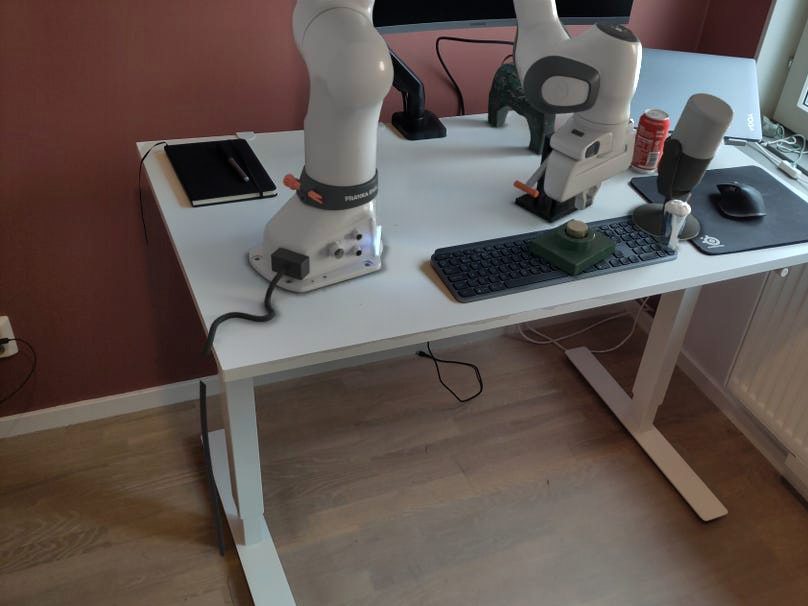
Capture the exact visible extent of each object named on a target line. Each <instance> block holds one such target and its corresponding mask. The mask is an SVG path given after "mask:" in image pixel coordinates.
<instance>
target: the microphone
mask: <svg viewBox="0 0 808 606" xmlns="http://www.w3.org/2000/svg"><path fill="white" fill-rule="evenodd" d="M734 119H735V111H734V109H733V108H732V107H731V106H730V104H729V103H728V102H726V100H723V99H722V98H720V97H719V96H715V95H713V94H709V93H704V92H699V93H694V94H692V95H690V97H688V99H687V101H686V104H685V106H684V108H683V110H682V111H681V114H680V116H679V118H678V120H677V122H676V124H675V127H674V129H673V130H672V133H671V134H670V135H669V136H667V138H666V140H665V141H664V147H663V153H662V156H661V158H660V160H659V162H658V166H657V169H656V173H657V178H656V181H655V182H656V188H657V193H658V194H659V195H660V196H663V197H664V202H663V203H658V202H657V203H656V202H653V203H652V202H651V203H645V204H641V205H639V206H637V207H635V208H634V209H633V211H632V214H631V220H632V222H633V224H634V225H635V226H636V228H638V229H639V230H640V231H642V232H643V233H645V234H647V235H649V236H651V237H654V238H657V239H659V236H660V231H661V226H662V221H663V215H664V209H665V204H666V203H667V202H669V201H671V200H680V201H681V199H682V198H685V197H688V195H689V193H690V194H691V193H692V191H693V189H694V188H696V187H697V186H698V185H699V184H700V183H701V181H702V179H703V177H704V176H705V174H706V172H707V170H708V168H709V166H710V165H711V162H712V161H713V160H714V158H715V156H716V153H717V152H718V149H719V148H720V146H721V144H722V142H723V140H724V139H725V136H726V134H727V132H728V131H729V129H730V127H731V125H732V123H733V121H734ZM700 229H701V225H700V222H699V220H698V219H697V218H696V217H695V216H694V215H693V214H692V213H690V214H689V216H688V219H687V221H686V223H685V226H684V228H683V231H682V233H681V236H680V238H679V241H678V242H684V241H689V240H691V239H694V238H695V237H697V236H698V234H699V233H700Z"/></svg>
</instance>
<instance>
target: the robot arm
mask: <svg viewBox="0 0 808 606" xmlns="http://www.w3.org/2000/svg"><path fill="white" fill-rule="evenodd" d="M375 1H376V0H296V5H295V7H294V9H293V13H292V34H293V35H292V37H293V41H294V44H295V46H296V49H297V50H298V52H299V54H300V56H301V57H302V59H303V61H304V63H305V65H306V68H307V72H308V77H309V84H310V85H309V88H310V90H309V100H308V107H307V112H306V115H305V117H304V118H303V119H304V120H303V143H304V144H303V146H304V147H303V149H304V150H303V151H304V165H303V167H302V169H301V173H300V175H299V177H295V176H294V175H293V174H291V173H287V174H285V175H284V177H283V179H282V183H283V185H284V186H285V187H287V188H289V189H290V190H291V191H295V193H294V194H293V195H292V196H291V197H290V198H289V199H288V200H287V201H286V202H285V203H284V205H283V206H281V208H280V209H279V210H277V212H276V213H275V214H274V215H273V216H272V217H271V218H270V220H268V221H267V223H266V224H265V227H264V230H263V236H262V242H261V243H259V244H257V245H256V246H254V247H253V248H251V249H249V251H248V260H249V263H250V265H251V266H252V268H253V269H254V270H255V272H257V273H258V274H259V275H260V276H262V277H263V278H264V279H266V280H267V281H268V282H270V283H269V285H268V287H267V289H266V292H265V295H264V302H263V303H264V308H265V309H266V311H267V314H266V315H255V314H250V313H246V312H241V311H230V312H226V313H223V314H222V315H220V316H218V317H216V318H215V319H214V320H213V321H212V323H211V325H210V327H209V330H208V334H207V338H206V342H205V345H204V348H203V351H202V355H203V356H206V357H207V356H208V355H210V353H211V351H212V348H213V345H214V341H215V337H216V332H217V329H218V327H219V326H220V324H222V323H224V322H225V321H228V320H230V319H242V320H246V321H250V322H255V323H267V322H269V321H271V320H273V319H274V318H275V316H276V310H275V309H274V308H273V306H272V303H271V299H272V295H273V292H274V291H275V288H276V286H277V287H279V288H281V289H284V290H287V291H290V292H295V293H300V294H301V293H306V292H309V291H314V290H316V289H321V288H323V287H326V286H331V285H333V284H336V283H340V282H343V281H347V280H350V279H353V278H357V277H360V276H361V277H362V276H363V275H367V274H371V273H373V272H377V271H379V270H380V269H382V261H381V256H382V253H383V251H384V243H383V240H382V237H381V231H382V225H379V222H378V221H379V220H378V213H377V212H378V211H377V200H376V199H377V195H378V193H379V170H378V168H377V144H378V143H377V142H378V126H379V121H380V117H381V116H380V115H381V111H382V108H383V103H384V99H385V97H386V96H387V95H388V94H389V92H390V91H391V88H392V85H393V82H394V75H395V73H394V65H393V60H392V57H391V53H390V50H389V46H388V45H387V43H386V41H385V40H384V37H382V35H381V34H380V33H379V31H378V30H377V29H376V27H375V26H374V23H373V22H374V20H373V10H374V5H375ZM512 2H513V7H514V12H515V13H514V14H515V18H516V31H515V36H514V41H513V45H512V53H511V54H512V62H513V63H514V66H515V69H516V71H517V73H518V75H519V78H520V82H521V85H522V89H523V92H524V95H525V98H526V100H527V101H528V103H529V104H530V105H531V106H532V107H533V108H534V109H536V110H537V111H539V112H542V113H545V114H556V115H564V114H572V115H570V117H568V119H567V121H565V123H564V124H563V125H562V126H561V127H560V128H558V129H557V130H556V131H554V132H555V133H554V134H553V135H552V137H551V140H550V146H551V147H552V148H554V150H553V151H552V152H551V154H550V156H549V159H548V163H547V168H546V174H545V181H544V191H545V193H546V195H547V196H549V197H551V198H553V199H555V200H557V201H559V202H564V201H565V200H567V199H569V198H571V197H573V196H575V198H576V200H575V207H576V208H577V209H579V210H580V211H583V210H585V209H587V208H588V207H591V206H593V204H594V200H595V197H596V195H597V194H598V192H599V190H600V188H601V187H602V186H601V185H602V183H603V182H605V181H607V180H609V179H611V178H613V177H615V176H617V175H619V174H621V173H623V172H625V171H627V170H628V169H629V168H630V166H631V162H632V158H633V152H634V145H635V136H636V132H634V128H635V121H634V120H633V118H632V117H631V104H632V103H631V102H632V99H633V97H634V96H635V94H636V91H637V87H638V82H639V76H640V70H641V64H642V57H643V56H642V55H643V54H642V53H643V47H642V43H641V40H640V39H639V37H638V36H637V35H636V34H635V32H633V30H631V29H630V28H628V27H627V26H624V25H622V24H619V23H616V22H613V21H597V22H595V23H594V24H593V25H592V26H591V27H590V28H588V29H587V30H585V31H583V32H581V33H579V34H577V35H574V36H572V35H571V34H570V32H569V30H568V29H567V28H566V26H565V25H564V24H563V22H562V21H561V19H560V18H559V17H560V16H559V15H558V11H557V5H556V0H512ZM207 415H208V414H207V384H206V383H205V382H203V381H202V380H201V379H199V418H200V420H199V421H200V429H201V430H200V433H201V440H202V448H203V455H204V462H205V469H206V475H207V482H208V487H209V493H210V499H211V505H212V511H213V517H214V523H215V529H216V535H217V541H218V550H219V555H220V556H221V557H225V556H226V547H225V537H224V531H223V525H222V519H221V513H220V512H221V511H220V506H219V500H218V493H217V488H216V482H215V477H214V476H215V475H214V470H213V463H212V457H211V456H212V455H211V448H210V439H209V430H208V416H207Z"/></svg>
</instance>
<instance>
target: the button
mask: <svg viewBox="0 0 808 606" xmlns="http://www.w3.org/2000/svg"><path fill="white" fill-rule="evenodd" d="M571 220H572V219H571ZM568 221H569V222H568ZM568 221H567V222H568V223H567V228H566V235H568V236H570V237H571V238H576V239H584V238H585V237H586V234H587V229H588V227H589V226H588V224H587V223H586V222H584V221H582V220H576V219H574V220H572V221H570V220H568Z"/></svg>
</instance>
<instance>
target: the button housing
mask: <svg viewBox="0 0 808 606" xmlns="http://www.w3.org/2000/svg"><path fill="white" fill-rule="evenodd" d="M572 220H575V219H574V218H572V219H570V220H568V221H566V222H564V223H562V224H560V225H557V226H556V227H554V228H552V229H550V230H548V231H546V232H544V233H542V234H540V235H538V236H537V237H535V238H532V239H531V240H530V244H529V250H528V251H529V252H530V253H532V254H533V255H536V256H538V257H539V258H542V260H545V261H546V262H549V263H550V264H551V265H554V267H557V268H558V269H560V270H562V271H564V272H566V273H567V274H569V275H571V276H573V277H575V276H577V275H578V274H580V273H582V272H584V271H585V270H587V269H588V268H590V267H592V266H594V265H595V264H597V263H599V262H601V261H603V260H604V259H606V258H607V257H609V256H611V255H613V254H614V253H615V251H616V247H617V241H616V240H614V239H612V238H609V237H608V236H606V235H604V234H602V233H600V232H599V231H597V230H595V229H593V228H591V227H589V226H588V229H587V234H586V237H585V238H584V239H576V238H571V237H570V236H568V235H566V228H567V223H568V222H569V221H572Z"/></svg>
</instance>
